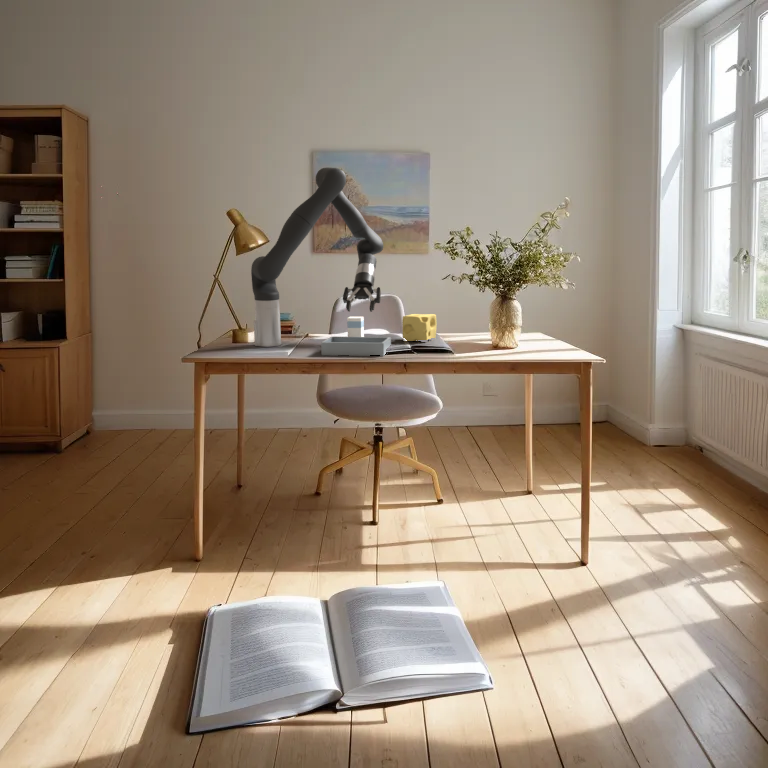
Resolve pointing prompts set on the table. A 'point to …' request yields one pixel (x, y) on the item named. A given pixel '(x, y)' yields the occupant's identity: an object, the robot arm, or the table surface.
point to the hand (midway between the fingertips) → (359, 310)
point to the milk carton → (355, 326)
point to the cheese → (419, 327)
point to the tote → (355, 346)
